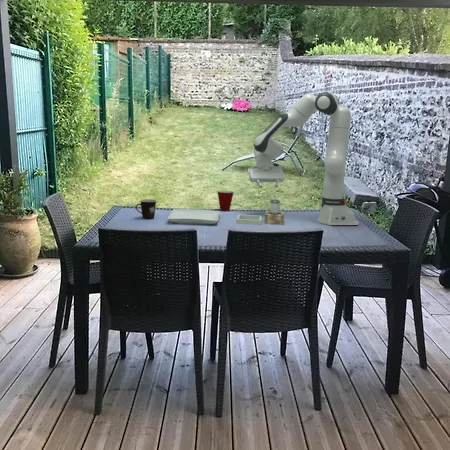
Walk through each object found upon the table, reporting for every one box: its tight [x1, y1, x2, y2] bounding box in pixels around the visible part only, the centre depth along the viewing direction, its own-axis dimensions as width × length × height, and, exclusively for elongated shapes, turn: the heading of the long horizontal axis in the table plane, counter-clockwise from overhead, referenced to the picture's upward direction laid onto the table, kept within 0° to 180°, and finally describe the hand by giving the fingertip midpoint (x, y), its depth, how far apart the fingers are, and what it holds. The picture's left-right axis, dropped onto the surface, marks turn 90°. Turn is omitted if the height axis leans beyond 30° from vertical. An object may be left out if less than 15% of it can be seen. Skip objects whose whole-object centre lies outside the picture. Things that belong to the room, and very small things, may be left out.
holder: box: [264, 210, 285, 226], centre depth 278 cm, size 10×10×6 cm
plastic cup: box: [216, 190, 235, 212], centre depth 311 cm, size 11×11×12 cm
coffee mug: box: [135, 198, 157, 221], centre depth 281 cm, size 12×9×10 cm
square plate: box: [166, 208, 221, 225], centre depth 282 cm, size 27×27×4 cm
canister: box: [269, 199, 281, 215], centre depth 277 cm, size 5×5×12 cm
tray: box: [236, 214, 263, 225], centre depth 278 cm, size 13×13×3 cm
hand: (268, 187), depth 287 cm, fingers open, 8 cm apart
